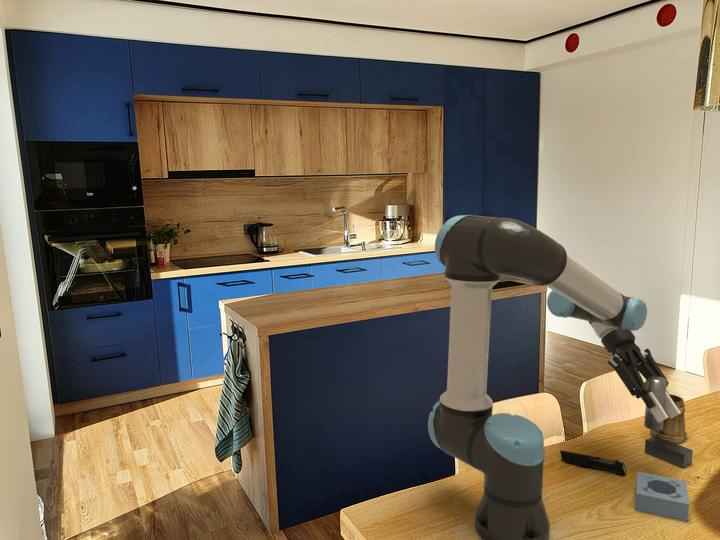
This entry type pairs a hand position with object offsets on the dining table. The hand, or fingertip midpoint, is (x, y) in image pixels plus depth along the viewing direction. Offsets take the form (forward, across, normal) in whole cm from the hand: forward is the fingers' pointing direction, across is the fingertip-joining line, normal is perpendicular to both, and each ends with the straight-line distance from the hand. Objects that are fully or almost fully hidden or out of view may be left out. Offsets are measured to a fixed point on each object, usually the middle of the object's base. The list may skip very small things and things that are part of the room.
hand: (669, 417), depth 134 cm
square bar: (+7, -11, -16) cm, 20 cm away
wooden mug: (+1, -20, -21) cm, 29 cm away
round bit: (0, 0, -5) cm, 5 cm away
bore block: (+15, +9, -8) cm, 19 cm away
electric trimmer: (+3, +9, -21) cm, 23 cm away
